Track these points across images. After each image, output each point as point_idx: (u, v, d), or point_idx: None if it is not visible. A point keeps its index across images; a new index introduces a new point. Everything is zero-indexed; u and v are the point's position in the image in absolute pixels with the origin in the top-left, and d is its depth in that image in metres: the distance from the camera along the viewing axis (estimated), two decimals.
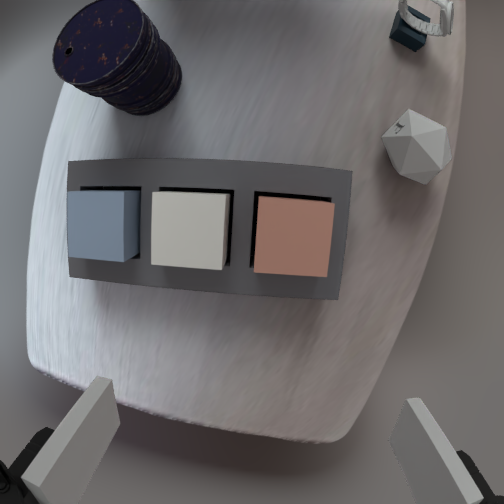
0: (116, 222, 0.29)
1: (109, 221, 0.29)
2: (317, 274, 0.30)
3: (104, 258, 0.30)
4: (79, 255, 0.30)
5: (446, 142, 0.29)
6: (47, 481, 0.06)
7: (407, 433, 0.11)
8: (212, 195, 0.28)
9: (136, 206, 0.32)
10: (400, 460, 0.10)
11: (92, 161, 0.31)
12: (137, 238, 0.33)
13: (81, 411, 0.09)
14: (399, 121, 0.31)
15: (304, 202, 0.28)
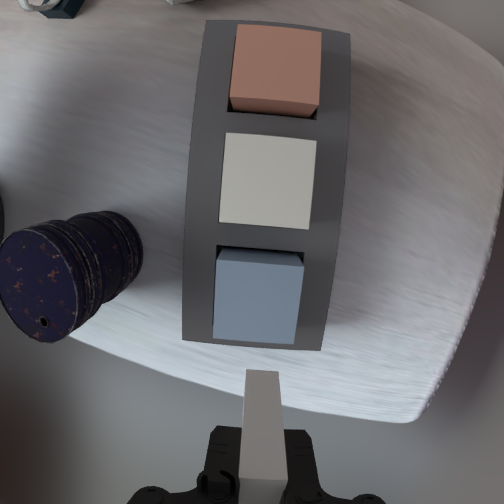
0: (254, 272, 0.25)
1: (252, 281, 0.25)
2: (319, 40, 0.21)
3: (298, 293, 0.26)
4: (292, 328, 0.26)
5: None
6: None
7: None
8: (225, 147, 0.23)
9: (239, 252, 0.28)
10: None
11: (184, 308, 0.30)
12: (279, 254, 0.29)
13: (255, 402, 0.12)
14: None
15: (236, 51, 0.22)
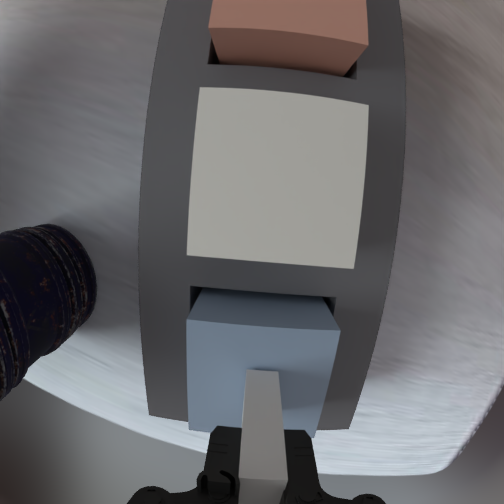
0: (253, 341, 0.14)
1: (251, 355, 0.14)
2: None
3: (327, 371, 0.14)
4: (314, 419, 0.15)
5: None
6: None
7: None
8: (199, 114, 0.12)
9: (229, 296, 0.17)
10: None
11: (147, 375, 0.18)
12: (294, 299, 0.17)
13: (255, 402, 0.12)
14: None
15: None
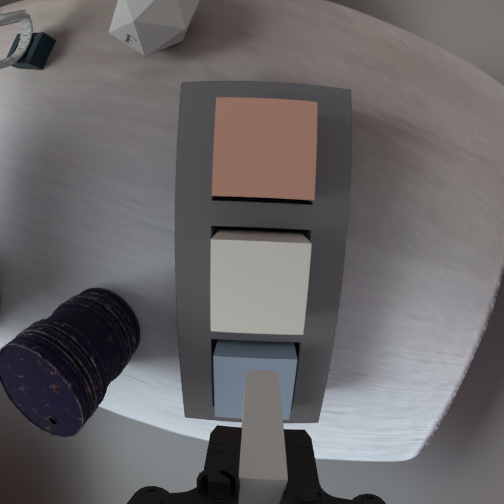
0: (250, 365, 0.25)
1: None
2: (314, 114, 0.20)
3: (292, 381, 0.26)
4: (288, 408, 0.26)
5: None
6: None
7: None
8: (211, 256, 0.22)
9: None
10: None
11: (184, 392, 0.29)
12: None
13: (255, 402, 0.12)
14: (123, 39, 0.23)
15: (216, 136, 0.20)
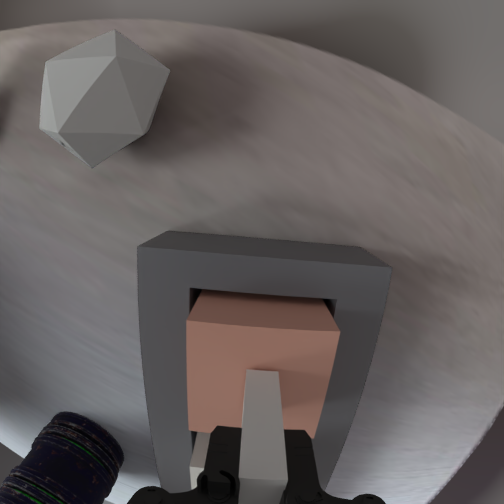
0: None
1: None
2: (332, 349, 0.14)
3: None
4: None
5: (72, 53, 0.13)
6: None
7: None
8: (192, 476, 0.16)
9: None
10: None
11: None
12: None
13: (255, 402, 0.12)
14: (59, 142, 0.17)
15: (189, 372, 0.14)
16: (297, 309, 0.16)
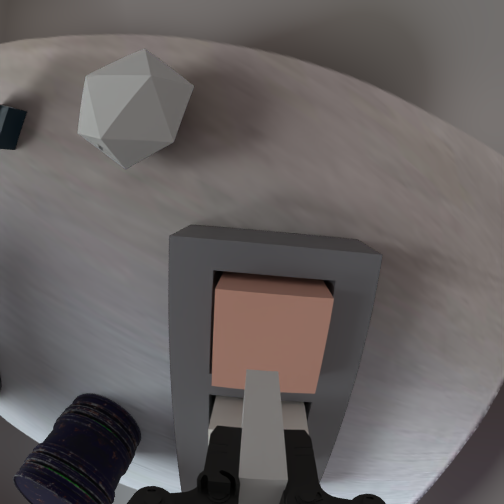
0: None
1: None
2: (328, 313, 0.18)
3: None
4: None
5: (110, 70, 0.17)
6: None
7: None
8: None
9: None
10: None
11: None
12: None
13: (255, 402, 0.12)
14: (96, 146, 0.20)
15: (215, 332, 0.19)
16: (300, 284, 0.21)
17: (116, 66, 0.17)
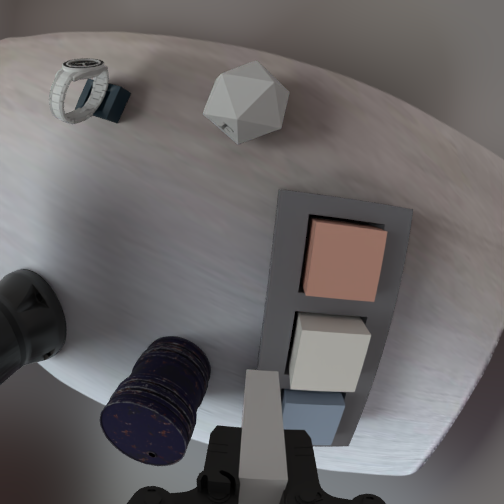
0: (311, 409, 0.32)
1: (309, 414, 0.32)
2: (384, 241, 0.28)
3: (339, 419, 0.32)
4: (331, 437, 0.33)
5: (240, 73, 0.27)
6: None
7: None
8: (301, 341, 0.29)
9: None
10: None
11: None
12: None
13: (255, 402, 0.12)
14: (218, 125, 0.30)
15: (313, 252, 0.29)
16: (363, 226, 0.30)
17: (243, 70, 0.27)
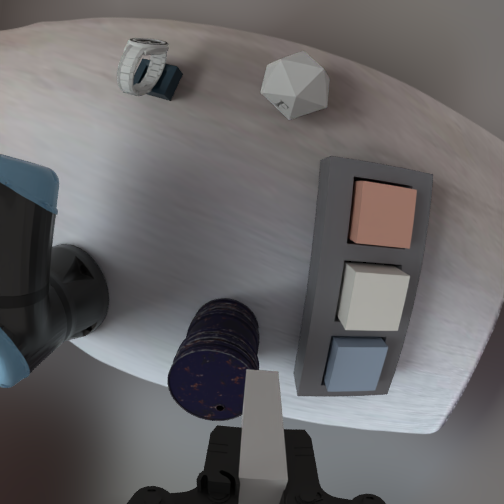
0: (359, 352, 0.37)
1: (358, 357, 0.37)
2: (414, 197, 0.33)
3: (382, 362, 0.37)
4: (376, 381, 0.38)
5: (295, 59, 0.31)
6: None
7: None
8: (355, 282, 0.34)
9: None
10: None
11: (302, 376, 0.40)
12: None
13: (255, 402, 0.12)
14: (274, 102, 0.35)
15: (362, 206, 0.33)
16: None
17: (296, 58, 0.31)
